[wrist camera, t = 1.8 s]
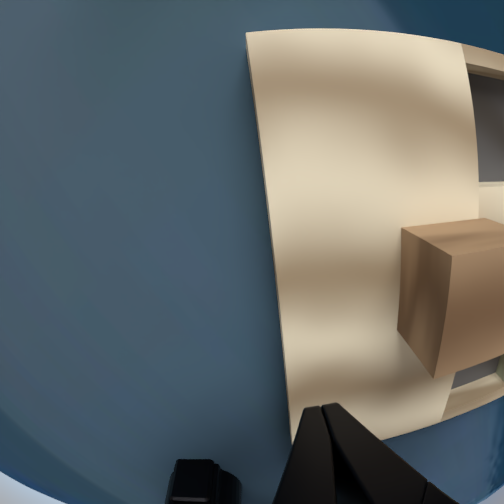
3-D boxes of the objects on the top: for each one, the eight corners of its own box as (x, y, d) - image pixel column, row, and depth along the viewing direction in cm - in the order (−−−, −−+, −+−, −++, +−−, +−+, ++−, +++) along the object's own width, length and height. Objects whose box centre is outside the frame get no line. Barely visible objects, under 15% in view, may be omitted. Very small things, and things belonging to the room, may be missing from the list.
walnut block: (475, 310, 14) (519, 347, 10) (396, 329, 14) (433, 379, 10) (485, 217, 13) (540, 239, 9) (401, 227, 13) (452, 256, 9)
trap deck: (559, 346, 18) (571, 356, 16) (290, 434, 19) (293, 457, 17) (581, 94, 12) (598, 94, 10) (246, 48, 12) (245, 32, 10)
